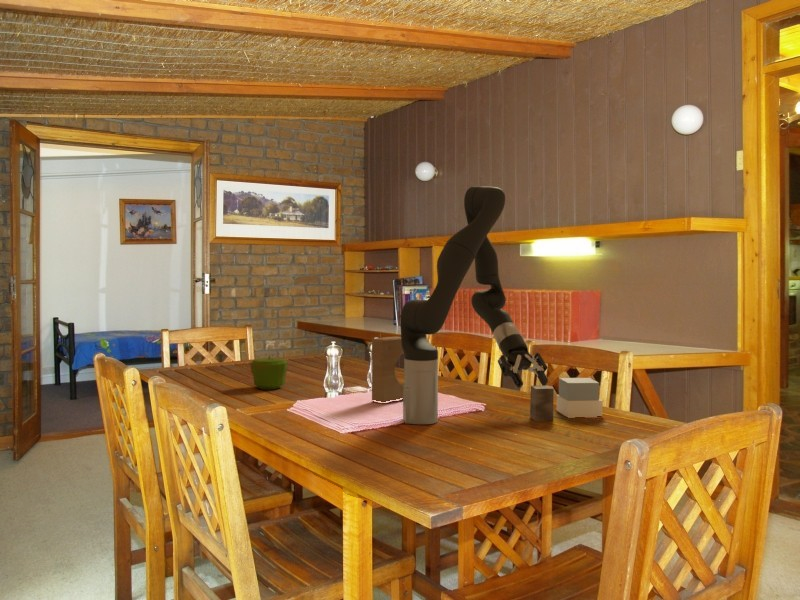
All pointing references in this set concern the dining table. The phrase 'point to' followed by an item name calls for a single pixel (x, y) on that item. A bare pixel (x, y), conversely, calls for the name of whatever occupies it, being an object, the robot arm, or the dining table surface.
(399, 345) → the decorative block
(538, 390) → the oak pillar
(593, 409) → the tower base
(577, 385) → the tower top
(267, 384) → the apple
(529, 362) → the robot arm
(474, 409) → the dining table surface
